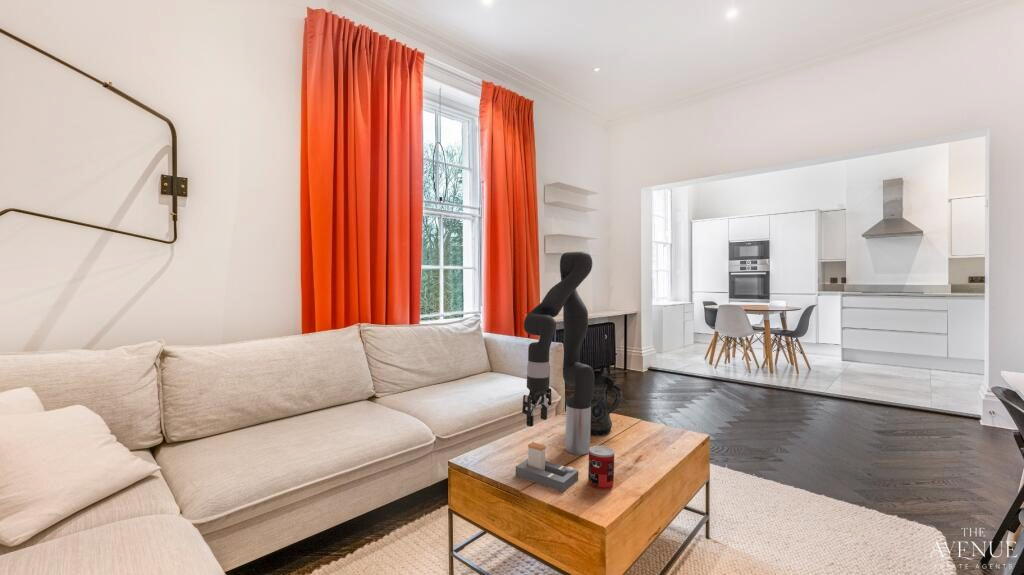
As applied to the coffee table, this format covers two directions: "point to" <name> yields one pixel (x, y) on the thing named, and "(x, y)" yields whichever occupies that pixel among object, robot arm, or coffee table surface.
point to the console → (549, 475)
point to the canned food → (601, 467)
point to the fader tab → (536, 455)
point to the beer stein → (603, 404)
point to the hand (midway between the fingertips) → (537, 422)
